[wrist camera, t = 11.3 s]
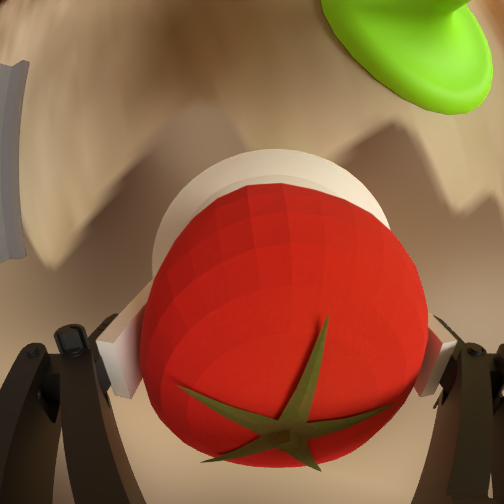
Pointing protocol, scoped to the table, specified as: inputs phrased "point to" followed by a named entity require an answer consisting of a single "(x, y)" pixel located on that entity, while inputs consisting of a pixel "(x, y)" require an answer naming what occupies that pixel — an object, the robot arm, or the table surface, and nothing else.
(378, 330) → the tomato
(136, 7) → the table surface
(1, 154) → the grey board
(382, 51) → the wineglass
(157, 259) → the plate
